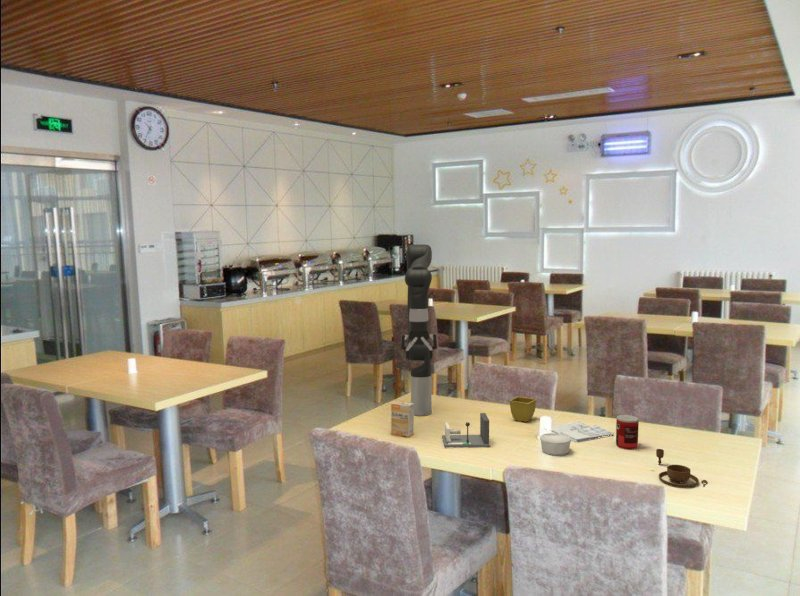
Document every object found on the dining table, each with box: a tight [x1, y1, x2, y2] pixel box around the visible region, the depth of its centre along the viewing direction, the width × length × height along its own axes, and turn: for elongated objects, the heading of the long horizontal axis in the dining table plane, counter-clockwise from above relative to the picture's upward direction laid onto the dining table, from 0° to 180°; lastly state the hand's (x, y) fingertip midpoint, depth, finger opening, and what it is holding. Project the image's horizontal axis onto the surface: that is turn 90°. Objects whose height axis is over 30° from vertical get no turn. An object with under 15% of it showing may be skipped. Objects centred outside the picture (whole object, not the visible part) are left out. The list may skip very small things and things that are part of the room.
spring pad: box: [444, 421, 462, 443], centre depth 249 cm, size 10×6×5 cm, turn 1°
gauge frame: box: [441, 412, 491, 448], centre depth 249 cm, size 12×17×10 cm
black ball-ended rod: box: [465, 421, 471, 443], centre depth 244 cm, size 2×2×8 cm
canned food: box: [615, 414, 640, 450], centre depth 243 cm, size 8×8×11 cm
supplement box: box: [390, 400, 415, 438], centre depth 259 cm, size 8×5×13 cm, turn 62°
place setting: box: [651, 448, 709, 489], centre depth 213 cm, size 18×20×6 cm
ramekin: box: [539, 432, 572, 456], centre depth 239 cm, size 11×11×5 cm
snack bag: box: [551, 421, 614, 443], centre depth 261 cm, size 19×20×2 cm
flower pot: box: [509, 396, 537, 423], centre depth 277 cm, size 9×9×9 cm
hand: (419, 359), depth 259 cm, fingers open, 8 cm apart
